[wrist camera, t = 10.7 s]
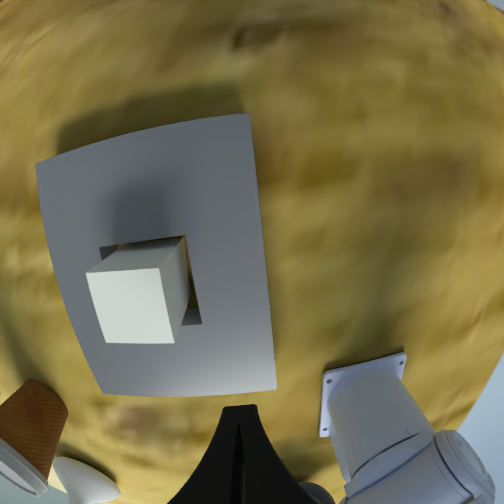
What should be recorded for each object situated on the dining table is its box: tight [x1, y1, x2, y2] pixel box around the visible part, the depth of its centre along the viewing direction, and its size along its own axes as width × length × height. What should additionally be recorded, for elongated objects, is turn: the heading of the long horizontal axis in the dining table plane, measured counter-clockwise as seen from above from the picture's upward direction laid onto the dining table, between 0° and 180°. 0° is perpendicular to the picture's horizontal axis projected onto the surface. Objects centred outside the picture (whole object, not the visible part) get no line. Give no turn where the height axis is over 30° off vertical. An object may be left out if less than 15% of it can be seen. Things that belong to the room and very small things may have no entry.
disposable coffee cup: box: [0, 380, 68, 497], centre depth 16 cm, size 10×10×12 cm
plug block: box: [86, 238, 191, 344], centre depth 15 cm, size 4×4×6 cm
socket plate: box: [36, 113, 277, 397], centre depth 17 cm, size 18×14×2 cm
